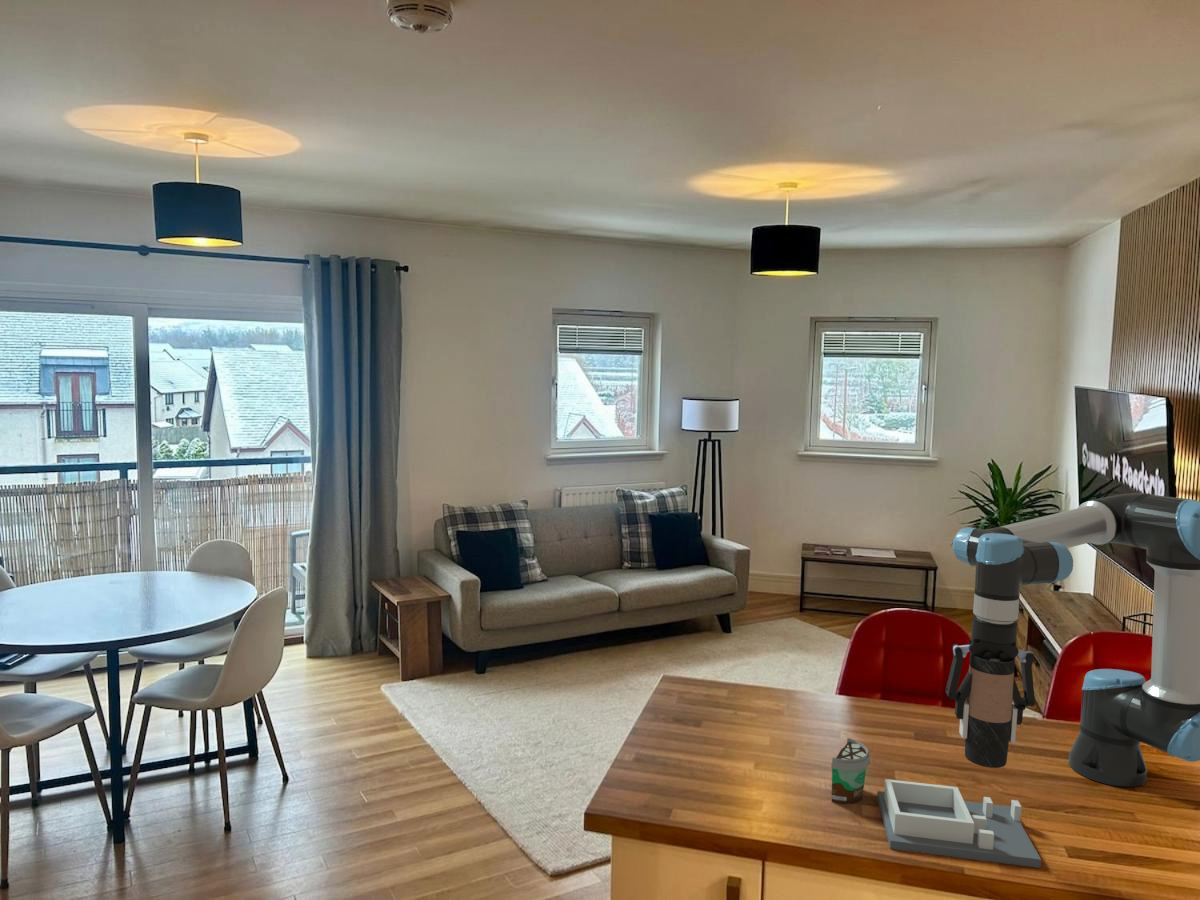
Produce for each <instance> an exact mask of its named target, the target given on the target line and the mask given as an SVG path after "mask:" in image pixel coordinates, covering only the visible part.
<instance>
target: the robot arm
mask: <svg viewBox="0 0 1200 900" xmlns="http://www.w3.org/2000/svg"><path fill="white" fill-rule="evenodd" d="M1089 543H1090V544H1092V545H1098V546H1100V545H1101V546H1103V545H1105V544H1119V545H1126V546H1130V547H1136V548H1139V549H1144V550H1146V555H1145V557H1146V558H1145V559H1146V564H1147V565H1149V567H1151V568H1152V569H1153V571H1154V580H1153V581H1154V583H1153V584H1154V585H1153V610H1152V611H1153V612H1152V613H1153V614H1152V641H1151V643H1152V644H1151V645H1152V646H1151V672H1150V675H1151V676H1150V679H1149V680H1147V681H1146V678H1145V676H1144V675H1142V674H1141V673H1138V672H1134V671H1130V670H1123V669H1115V668H1114V669H1113V668H1099V669H1093V670H1092V669H1091V670H1090V671H1087V672H1086V674H1085V676H1084V679H1083V683H1082V687H1081V691H1082V692H1081V694H1082V695H1081V708H1080V709H1081V710H1080V723H1079V724H1080V726H1079V732H1078V735H1077V737H1076V738H1075V741H1074V743H1073V744H1072V746H1071V749H1070V751H1069V754H1068V765H1069V767H1070V768H1071V769H1072V770H1073V771H1074V772H1076V773H1077V774H1080V776H1083V777H1085V778H1087V779H1090V780H1092V781H1095V782H1097V783H1102V784H1105V785H1109V786H1115V787H1121V788H1124V787H1125V788H1135V787H1140V786H1143V785H1145V784H1146V783H1147V779H1148V778H1147V775H1148V769H1147V766H1146V762H1145V758H1144V755H1143V752H1142V748H1141V743H1143V744H1145V745H1148V746H1150V747H1151V748H1154V749H1156V750H1159V751H1162V752H1163V753H1166V754H1168V755H1169V756H1171V757H1174V758H1178V759H1180V760H1184V761H1186V762H1199V761H1200V500H1196V499H1191V498H1181V497H1175V496H1174V497H1173V496H1166V495H1165V496H1164V495H1158V494H1151V493H1144V492H1132V493H1129V492H1128V493H1123V494H1122V493H1121V494H1117V495H1116V494H1115V495H1109V496H1105V497H1100V498H1099V497H1098V498H1095V499H1091V500H1088V501H1085V502H1083V503H1081V504H1080V505H1079V506H1077V508H1074V509H1069V510H1065V511H1061V512H1057V513H1053V514H1049V515H1043V516H1039V517H1036V518H1031V519H1026V520H1023V521H1018V522H1014V523H1010V524H1006V525H1003V526H1002V525H1001V526H995V527H992V528H988V529H987V528H986V529H980V528H978V527H963V528H961V529H959V530H958V531H957V533H956V534H955V536H954V537H953V540H952V551H953V554H954V556H955V558H956V559H957V560H958V561H960V562H961V563H964V564H967V565H969V566H971V567H975V575H974V576H975V579H974V580H975V581H974V595H973V607H972V613H973V614H974V616H973V617H972V621H971V622H972V623H971V635H970V636H971V638H970V641H968V644H963V645H959V644H957V643H954V644H953V645H952V647H951V648H952V653H953V654H952V655H953V658H952V662H951V665H950V669H949V670H950V671H949V673H948V678H947V683H946V687H945V693H946V695H947V697H948V698H949V699H950V700H954V701H955V705H954V707H955V708H954V715H955V717H956V719H957V720H959V729H958V732H959V734H960V737H961V738H962V739H965V738H966V739H967V729H968V714H969V704H968V702H967V697H968V695H969V693H970V691H971V686H972V674H970V673H969V669H967V670H968V671H967V672H966V674H965V677H964V678H963V680H962V681H961V683H960V685H959V681H960V677H961V672H962V670H963V664H964V658H966V657H967V655H968V653H969V652H971V654H972V655H974V656H976V657H979V658H981V659H985V660H990V658H992V659H999V660H1000V661H1001V662H1009V661H1012V660H1013V659H1014V658H1015V659H1016V657H1017V656H1018V661H1019V662H1020V669H1021V671H1020V673H1021V679H1022V680H1021V681H1022V692H1023V697H1022V695H1021V692H1020V691H1019V687H1018V684H1017V682H1016V679H1015V678H1014V682H1013V699H1012V702H1013V703H1012V716H1011V727H1010V736H1009V743H1010V744H1016V735H1017V726H1019V725H1020V726H1021V725H1022V724H1023V719H1024V718H1023V716H1024V715H1023V714H1024V711H1025V710H1026V709H1027V707H1031V708H1033V707H1034V706H1035V705H1036V698H1035V688H1034V679H1033V678H1034V677H1033V668H1032V667H1033V663H1034V660H1035V656H1034V654H1033V653H1032V652H1031V651H1030V650H1029V649H1025V650H1023V649H1019V648H1018V646H1017V638H1018V636H1017V635H1018V623H1017V622H1016V621H1017V620H1018V619H1019V609H1020V593H1021V586H1026V585H1038V584H1039V585H1040V584H1041V585H1042V584H1053V583H1056V582H1062V581H1065V580H1066V579H1067V578H1069V576H1071V573H1072V572H1073V569H1074V559H1073V554H1072V553H1071V551H1070V550H1069V548H1074V547H1078V546H1081V545H1085V544H1089ZM958 685H959V687H958Z"/></svg>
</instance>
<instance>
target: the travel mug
mask: <svg viewBox="0 0 1200 900" xmlns="http://www.w3.org/2000/svg"><path fill="white" fill-rule="evenodd" d="M1015 661H1016V657H1015V658H1014V659H1013V660H1012V661H1009V662H1001V661H1000V660H999V659H992V658H990V660H985V659H981V658H979V657H976V656H974V655H972V654H971V652H970V653H969V668H968V670H969V673H970V674H972V686H971V691H970V693H969V695H968V697H967V699H966V701H967V702H968V704H969V714H968V729H967V739H966V738H964V756H965V758H966V760H968V761H969V762H970V763H973V764H975V765H977V766H980V767H985V768H990V769H991V768H993V769H997V768H998V769H999V768H1003V767H1005V766H1006V765H1007V761H1008V753H1009V743H1010V741H1009V736H1010V727H1011V716H1012V704H1013V682H1014V679H1015V665H1016V662H1015Z"/></svg>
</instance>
